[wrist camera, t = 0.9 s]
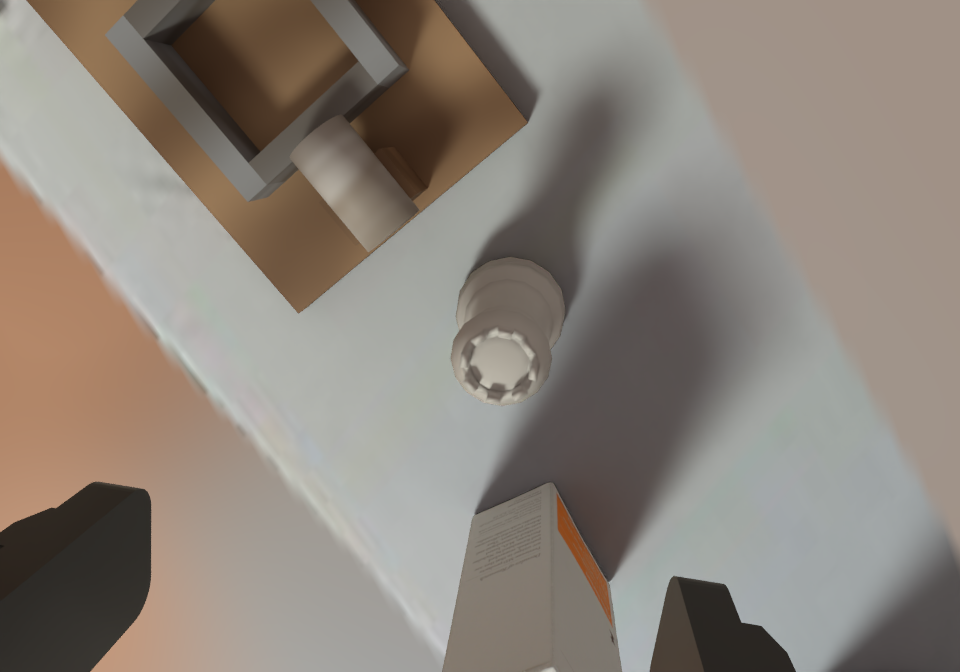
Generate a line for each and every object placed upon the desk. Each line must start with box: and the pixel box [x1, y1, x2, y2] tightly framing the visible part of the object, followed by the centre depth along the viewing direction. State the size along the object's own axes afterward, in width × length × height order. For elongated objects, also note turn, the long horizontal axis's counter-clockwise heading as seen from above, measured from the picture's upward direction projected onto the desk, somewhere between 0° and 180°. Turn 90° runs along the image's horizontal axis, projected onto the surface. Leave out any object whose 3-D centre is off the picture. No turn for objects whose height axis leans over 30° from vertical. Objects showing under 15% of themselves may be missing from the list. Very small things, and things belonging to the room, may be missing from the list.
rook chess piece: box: [451, 257, 566, 406], centre depth 27 cm, size 4×4×8 cm
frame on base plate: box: [27, 0, 528, 313], centre depth 26 cm, size 16×12×5 cm
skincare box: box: [442, 482, 622, 672], centre depth 27 cm, size 6×4×12 cm
